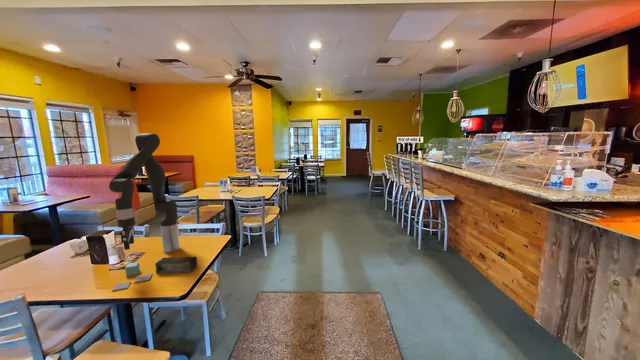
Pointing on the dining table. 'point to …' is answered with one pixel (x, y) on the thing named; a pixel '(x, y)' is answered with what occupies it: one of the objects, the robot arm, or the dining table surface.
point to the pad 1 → (121, 286)
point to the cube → (132, 269)
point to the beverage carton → (176, 265)
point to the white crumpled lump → (79, 245)
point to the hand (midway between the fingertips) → (129, 246)
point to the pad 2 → (143, 278)
